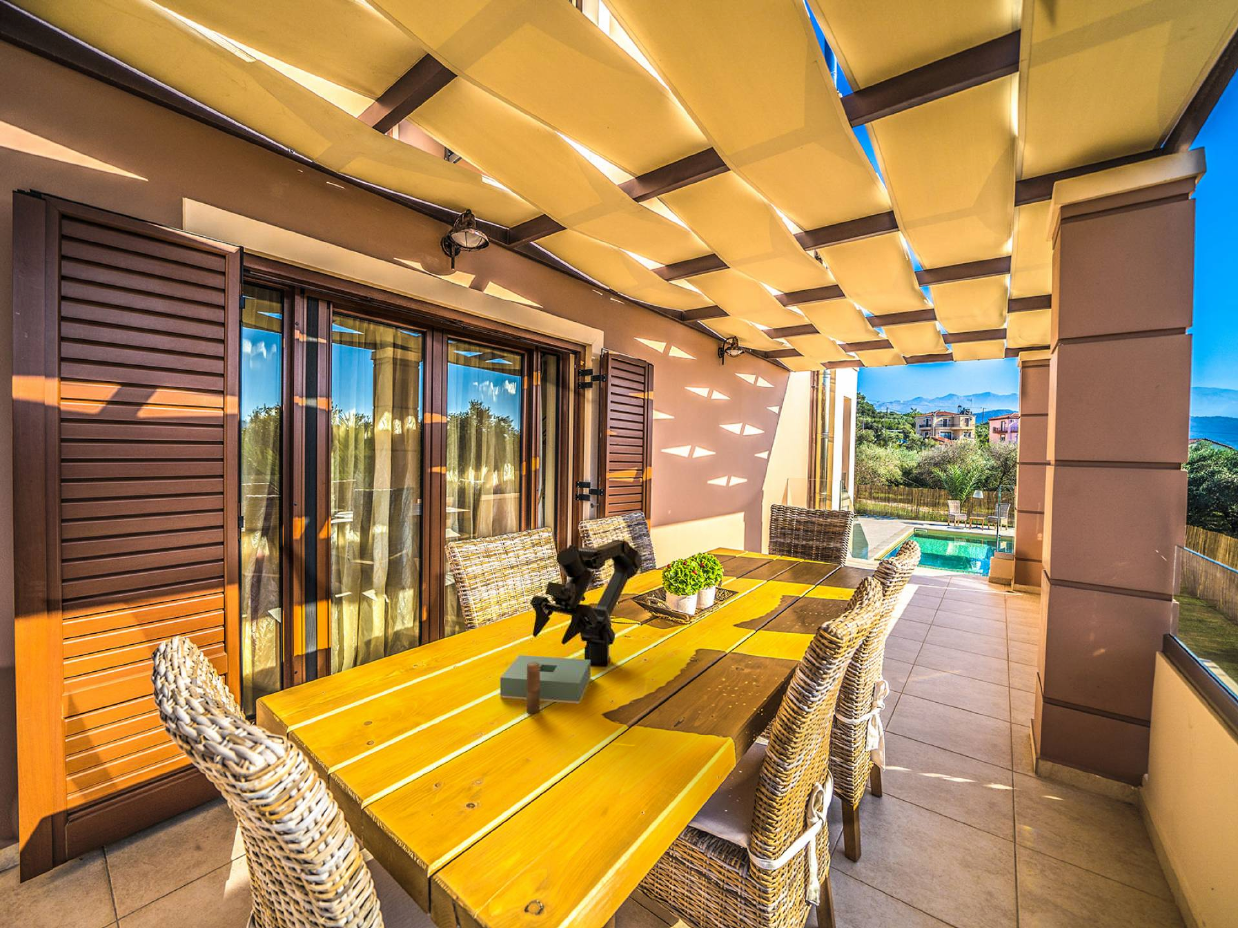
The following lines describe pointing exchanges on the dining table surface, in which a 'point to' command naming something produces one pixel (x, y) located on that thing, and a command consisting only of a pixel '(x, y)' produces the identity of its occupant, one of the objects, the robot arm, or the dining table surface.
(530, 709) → the pin
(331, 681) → the dining table surface
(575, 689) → the board
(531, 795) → the dining table surface
